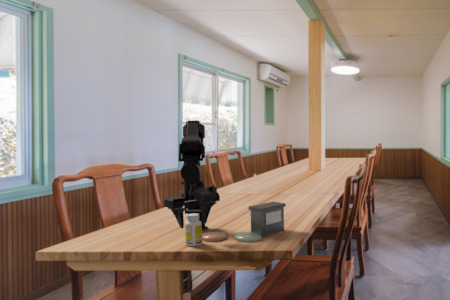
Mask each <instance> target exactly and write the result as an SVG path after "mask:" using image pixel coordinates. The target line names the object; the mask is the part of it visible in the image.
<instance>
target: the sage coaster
mask: <svg viewBox="0 0 450 300" xmlns="http://www.w3.org/2000/svg"><path fill="white" fill-rule="evenodd" d="M234 240H235V241H238V242H243V243H255V242H259V241H261V240H262V237H261V234H258V233H253V232H251V231H244V232H238V233H236V234H234Z"/></svg>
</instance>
